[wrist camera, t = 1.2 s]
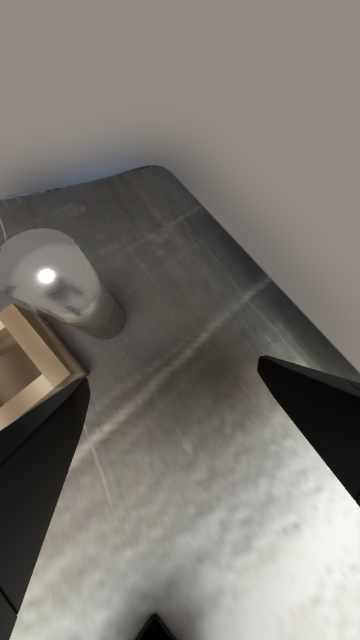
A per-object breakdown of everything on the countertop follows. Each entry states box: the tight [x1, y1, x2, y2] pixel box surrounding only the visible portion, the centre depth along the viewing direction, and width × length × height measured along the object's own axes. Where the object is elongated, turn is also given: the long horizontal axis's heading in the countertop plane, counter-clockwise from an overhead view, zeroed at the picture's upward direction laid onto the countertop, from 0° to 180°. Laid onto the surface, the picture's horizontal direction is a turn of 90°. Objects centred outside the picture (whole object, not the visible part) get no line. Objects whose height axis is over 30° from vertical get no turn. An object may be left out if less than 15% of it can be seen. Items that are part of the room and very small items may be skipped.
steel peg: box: [0, 229, 125, 339], centre depth 17 cm, size 5×5×13 cm
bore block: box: [0, 303, 90, 431], centre depth 18 cm, size 10×10×4 cm
